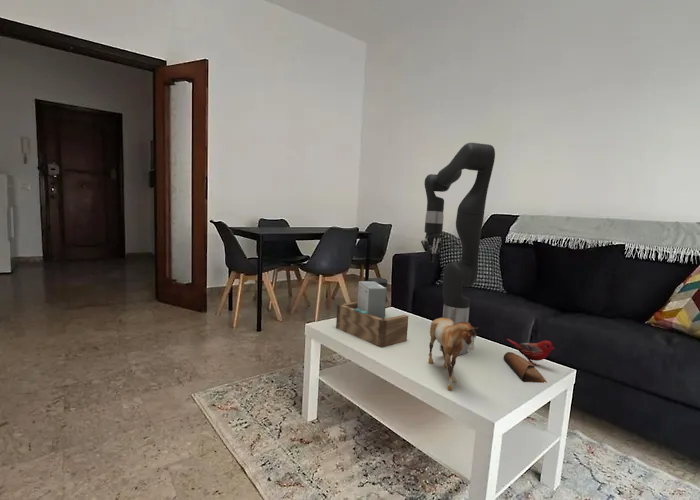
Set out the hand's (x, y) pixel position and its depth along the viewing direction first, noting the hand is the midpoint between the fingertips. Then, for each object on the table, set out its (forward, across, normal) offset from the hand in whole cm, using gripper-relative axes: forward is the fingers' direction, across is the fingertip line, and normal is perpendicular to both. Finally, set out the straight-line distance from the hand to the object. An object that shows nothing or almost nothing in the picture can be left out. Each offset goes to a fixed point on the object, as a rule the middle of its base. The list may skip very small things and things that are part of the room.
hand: (430, 262), depth 174 cm
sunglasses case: (+30, -9, -49) cm, 58 cm away
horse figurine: (+29, -32, -37) cm, 57 cm away
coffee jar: (+29, -9, +23) cm, 38 cm away
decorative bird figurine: (+29, -1, -46) cm, 54 cm away
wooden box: (+29, -28, +6) cm, 41 cm away
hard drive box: (+29, -26, +8) cm, 40 cm away
